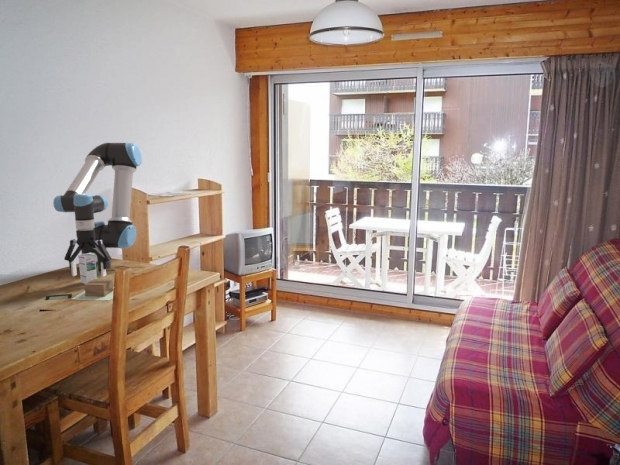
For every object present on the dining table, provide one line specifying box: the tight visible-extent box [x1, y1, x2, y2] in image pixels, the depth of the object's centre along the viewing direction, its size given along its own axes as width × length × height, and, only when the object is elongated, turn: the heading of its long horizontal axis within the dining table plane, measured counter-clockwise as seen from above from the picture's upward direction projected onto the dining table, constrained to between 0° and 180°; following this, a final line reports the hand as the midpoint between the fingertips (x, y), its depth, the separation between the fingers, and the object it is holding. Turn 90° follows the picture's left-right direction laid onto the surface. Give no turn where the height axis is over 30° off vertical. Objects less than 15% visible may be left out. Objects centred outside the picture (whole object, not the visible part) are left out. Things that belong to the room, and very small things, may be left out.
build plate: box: [71, 290, 114, 301], centre depth 200 cm, size 16×16×2 cm
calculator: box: [38, 293, 73, 312], centre depth 189 cm, size 9×12×3 cm
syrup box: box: [77, 253, 100, 284], centre depth 214 cm, size 6×6×14 cm
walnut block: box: [84, 278, 114, 297], centre depth 199 cm, size 8×8×5 cm
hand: (89, 275), depth 214 cm, fingers open, 13 cm apart
